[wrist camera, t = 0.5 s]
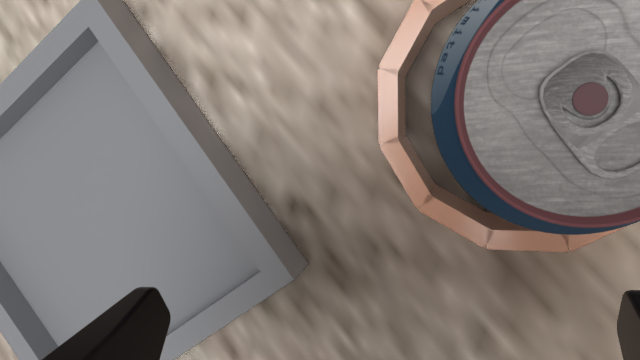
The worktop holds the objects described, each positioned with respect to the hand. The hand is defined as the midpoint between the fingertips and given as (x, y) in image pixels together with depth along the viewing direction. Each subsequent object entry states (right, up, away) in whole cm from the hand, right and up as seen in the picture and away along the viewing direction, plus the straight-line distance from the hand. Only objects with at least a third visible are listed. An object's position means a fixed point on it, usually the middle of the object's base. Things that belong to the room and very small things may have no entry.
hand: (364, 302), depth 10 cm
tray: (-13, 0, +19) cm, 23 cm away
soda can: (+8, +6, +13) cm, 16 cm away
